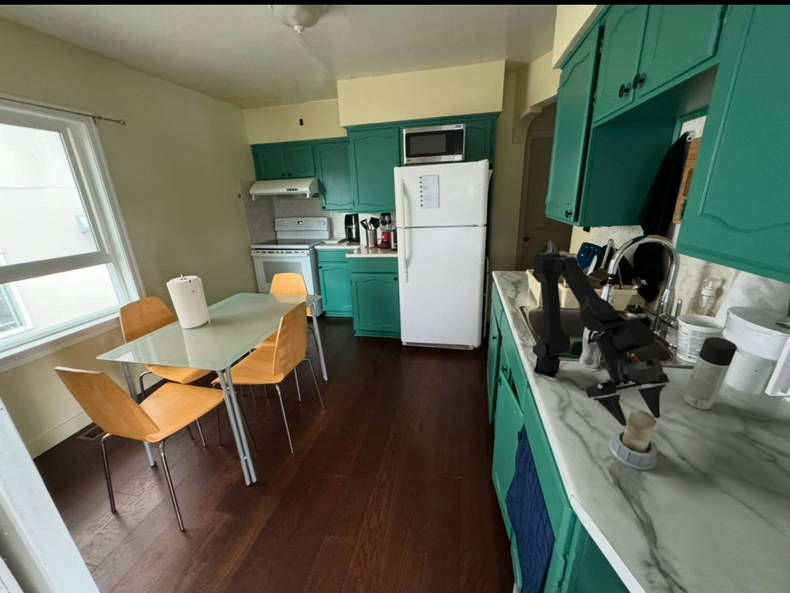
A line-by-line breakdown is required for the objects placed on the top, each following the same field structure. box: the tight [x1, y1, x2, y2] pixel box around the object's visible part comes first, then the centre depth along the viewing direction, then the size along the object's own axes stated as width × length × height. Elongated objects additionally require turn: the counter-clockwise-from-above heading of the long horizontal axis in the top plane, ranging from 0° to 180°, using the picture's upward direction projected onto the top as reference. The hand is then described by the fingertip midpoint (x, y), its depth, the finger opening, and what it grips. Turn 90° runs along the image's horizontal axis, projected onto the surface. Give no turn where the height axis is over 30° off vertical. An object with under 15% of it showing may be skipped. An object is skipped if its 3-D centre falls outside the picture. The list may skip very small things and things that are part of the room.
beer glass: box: [579, 326, 604, 369], centre depth 117 cm, size 7×7×15 cm
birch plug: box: [622, 409, 657, 453], centre depth 85 cm, size 5×5×10 cm
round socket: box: [607, 427, 658, 471], centre depth 86 cm, size 10×10×4 cm
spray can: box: [682, 336, 738, 410], centre depth 98 cm, size 7×7×20 cm
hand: (641, 421), depth 83 cm, fingers open, 9 cm apart
